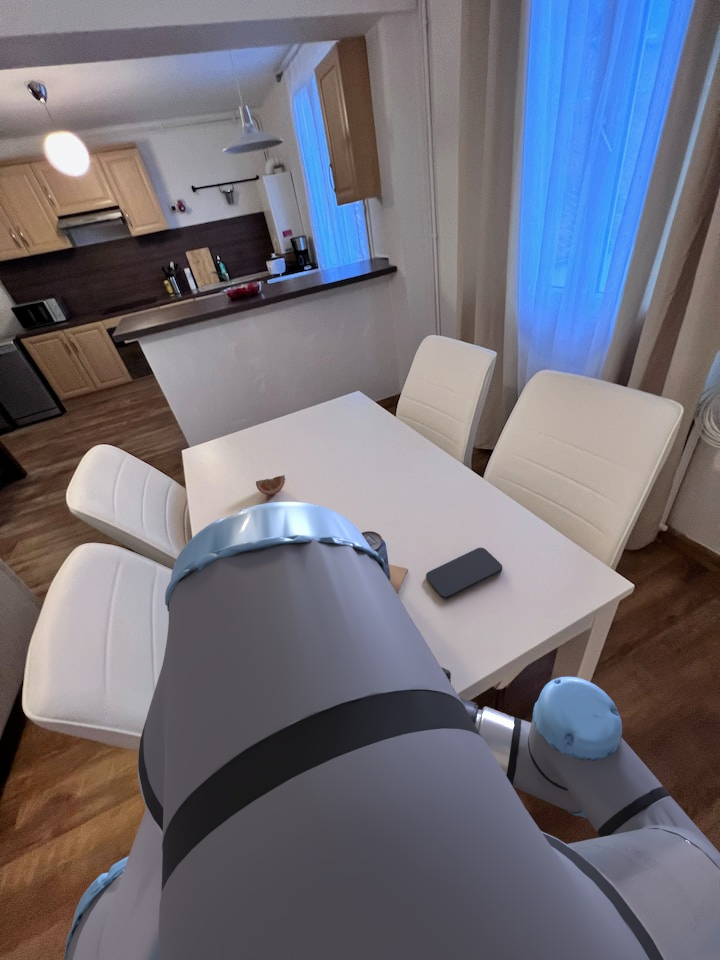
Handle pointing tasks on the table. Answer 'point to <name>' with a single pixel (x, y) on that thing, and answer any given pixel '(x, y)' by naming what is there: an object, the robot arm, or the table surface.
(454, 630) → the table surface
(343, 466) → the table surface
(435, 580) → the phone
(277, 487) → the fruit slice
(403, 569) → the cork mat
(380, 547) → the soda can
